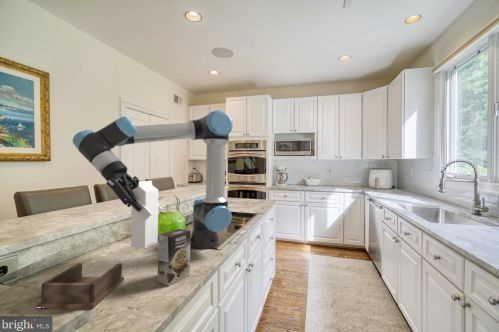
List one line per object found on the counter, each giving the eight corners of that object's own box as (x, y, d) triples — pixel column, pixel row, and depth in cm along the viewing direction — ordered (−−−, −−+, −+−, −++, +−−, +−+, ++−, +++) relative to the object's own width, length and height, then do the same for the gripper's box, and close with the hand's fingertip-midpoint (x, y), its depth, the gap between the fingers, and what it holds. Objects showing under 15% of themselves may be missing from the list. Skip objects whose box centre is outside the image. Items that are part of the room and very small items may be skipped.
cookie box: (169, 287, 70) (170, 236, 70) (156, 281, 73) (157, 233, 73) (190, 275, 77) (191, 230, 78) (178, 270, 81) (179, 227, 81)
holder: (124, 280, 73) (124, 262, 74) (92, 308, 58) (93, 285, 59) (79, 280, 73) (79, 261, 73) (36, 308, 58) (37, 285, 58)
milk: (130, 246, 72) (131, 181, 73) (144, 241, 78) (144, 180, 78) (145, 249, 71) (145, 181, 71) (158, 242, 76) (158, 180, 77)
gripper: (122, 174, 86) (161, 215, 84) (79, 175, 66) (129, 230, 64) (135, 160, 85) (174, 202, 84) (95, 158, 65) (146, 212, 64)
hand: (154, 214), depth 74 cm, fingers closed on milk, 7 cm apart
